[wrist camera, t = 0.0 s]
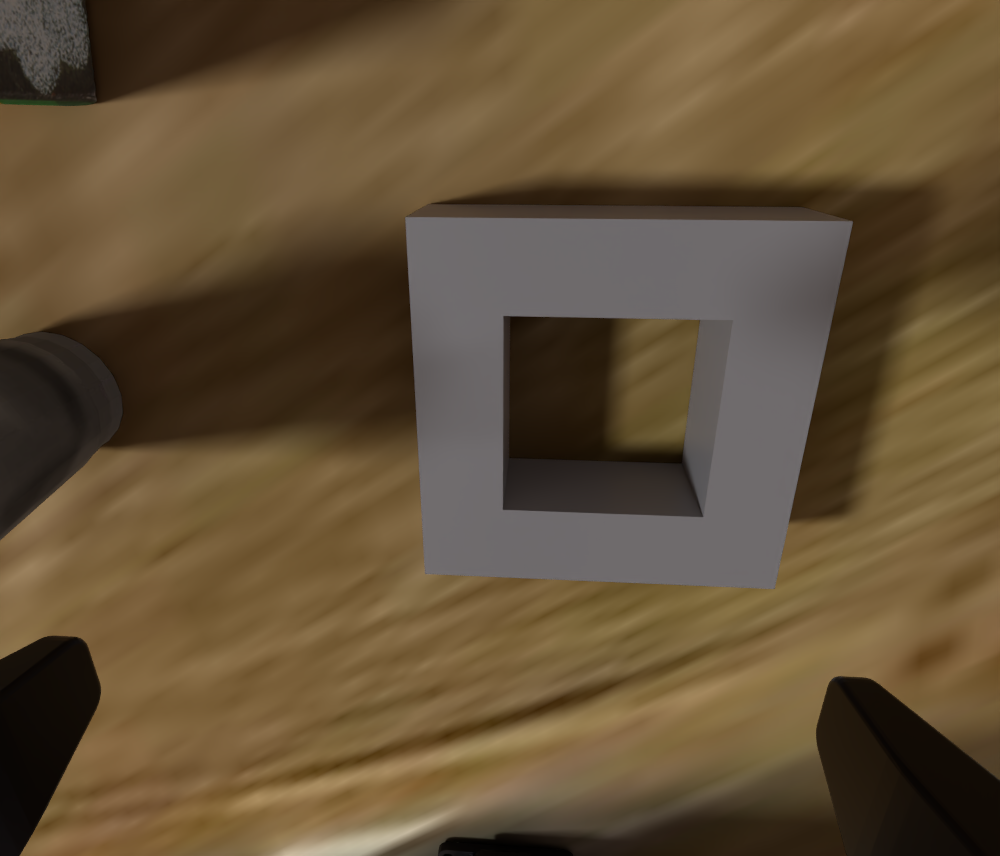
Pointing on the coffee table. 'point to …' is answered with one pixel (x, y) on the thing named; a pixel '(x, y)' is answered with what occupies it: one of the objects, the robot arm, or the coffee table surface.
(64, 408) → the beverage cup
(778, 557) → the socket
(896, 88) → the coffee table surface
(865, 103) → the coffee table surface
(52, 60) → the chalk box
